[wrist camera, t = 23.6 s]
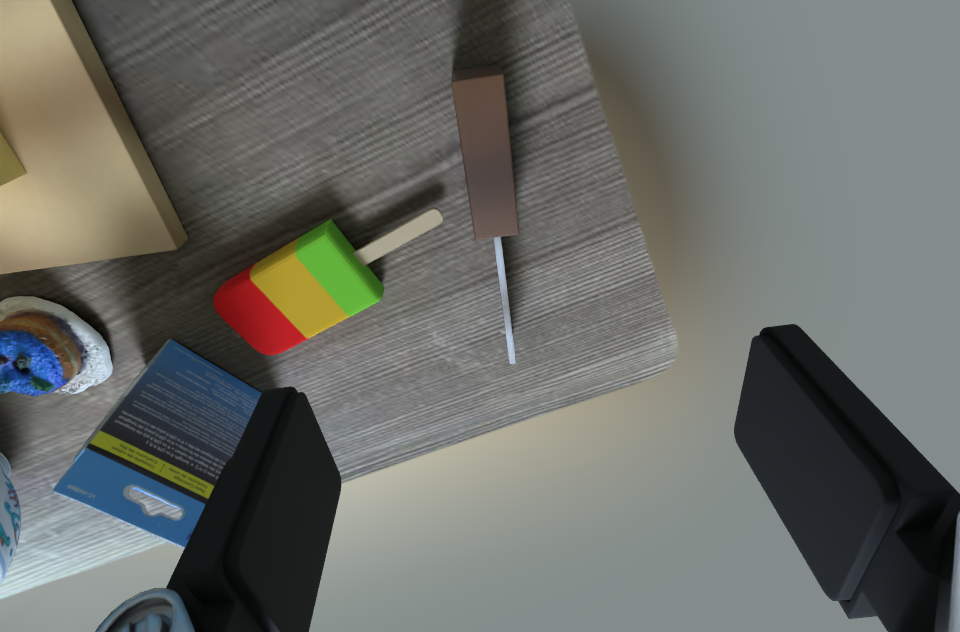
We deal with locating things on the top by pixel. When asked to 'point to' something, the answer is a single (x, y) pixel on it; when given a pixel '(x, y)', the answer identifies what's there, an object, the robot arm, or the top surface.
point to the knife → (488, 164)
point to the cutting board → (71, 150)
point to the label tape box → (163, 443)
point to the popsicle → (309, 285)
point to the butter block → (9, 163)
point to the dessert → (48, 349)
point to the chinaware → (8, 517)
